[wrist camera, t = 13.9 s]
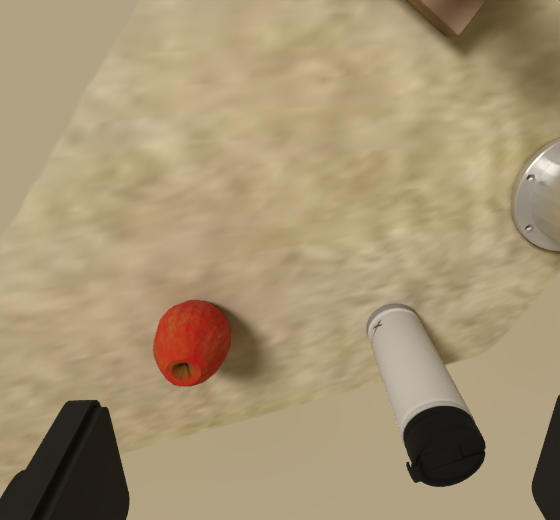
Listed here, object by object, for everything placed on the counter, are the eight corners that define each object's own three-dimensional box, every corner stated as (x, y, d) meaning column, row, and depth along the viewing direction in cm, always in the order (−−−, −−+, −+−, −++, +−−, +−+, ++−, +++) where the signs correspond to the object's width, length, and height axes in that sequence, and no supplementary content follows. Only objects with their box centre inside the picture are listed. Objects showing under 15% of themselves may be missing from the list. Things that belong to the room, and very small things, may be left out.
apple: (158, 289, 51) (130, 344, 42) (230, 284, 51) (219, 339, 41) (169, 348, 55) (147, 412, 45) (237, 344, 55) (229, 408, 45)
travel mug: (356, 313, 53) (399, 450, 35) (411, 295, 52) (484, 426, 34) (371, 354, 55) (419, 501, 37) (424, 337, 55) (499, 480, 36)
